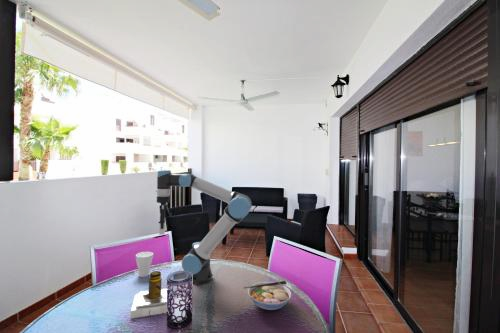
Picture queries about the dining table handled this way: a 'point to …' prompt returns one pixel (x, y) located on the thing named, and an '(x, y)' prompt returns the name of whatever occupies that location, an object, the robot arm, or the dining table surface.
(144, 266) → the cup
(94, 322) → the dining table surface
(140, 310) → the base
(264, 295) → the ramen bowl
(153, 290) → the condiment
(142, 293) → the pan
